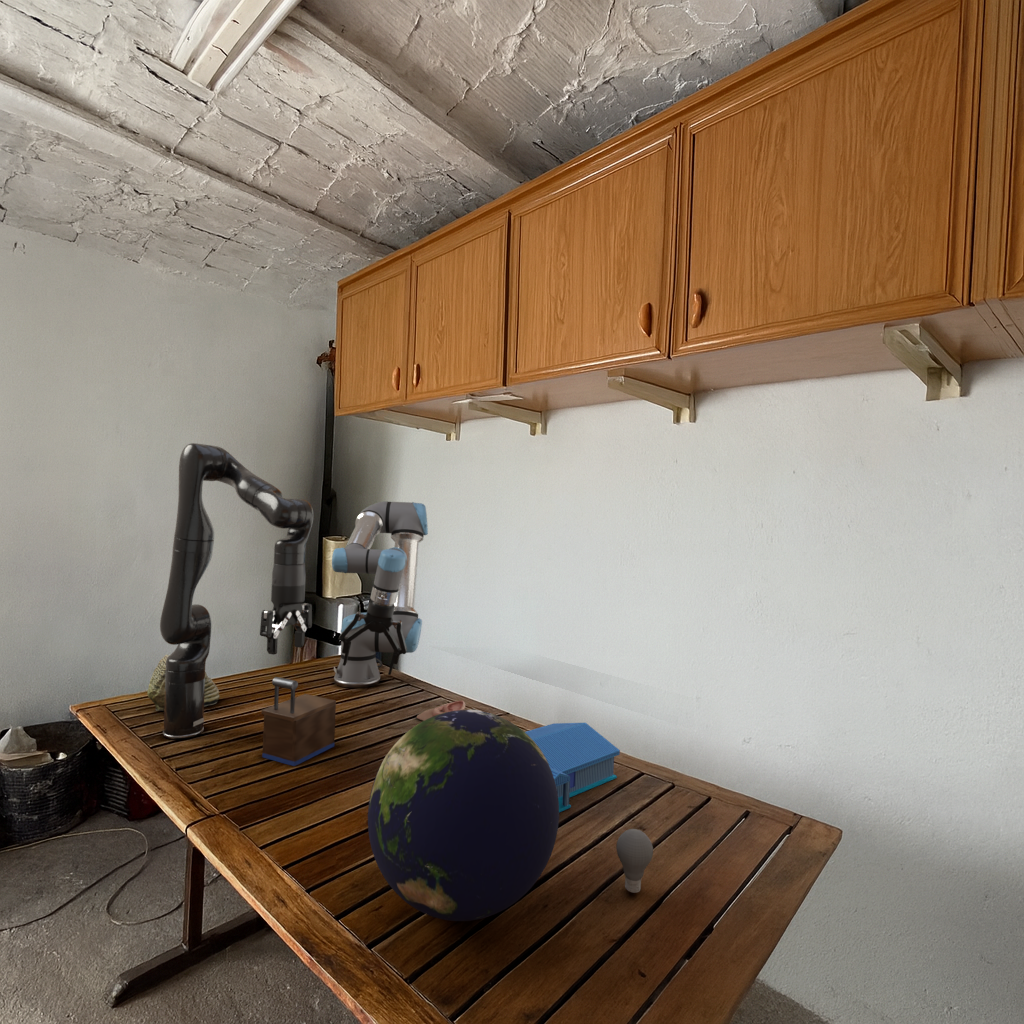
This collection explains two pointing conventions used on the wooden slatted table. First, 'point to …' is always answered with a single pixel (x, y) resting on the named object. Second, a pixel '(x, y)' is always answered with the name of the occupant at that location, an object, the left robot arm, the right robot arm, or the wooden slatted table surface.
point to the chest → (298, 736)
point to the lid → (295, 702)
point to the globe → (463, 815)
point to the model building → (575, 757)
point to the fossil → (158, 687)
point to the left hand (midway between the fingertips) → (286, 650)
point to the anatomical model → (442, 710)
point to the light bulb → (634, 857)
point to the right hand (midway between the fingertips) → (367, 668)
